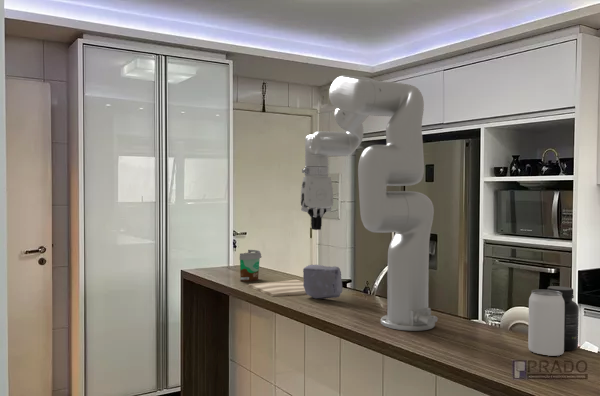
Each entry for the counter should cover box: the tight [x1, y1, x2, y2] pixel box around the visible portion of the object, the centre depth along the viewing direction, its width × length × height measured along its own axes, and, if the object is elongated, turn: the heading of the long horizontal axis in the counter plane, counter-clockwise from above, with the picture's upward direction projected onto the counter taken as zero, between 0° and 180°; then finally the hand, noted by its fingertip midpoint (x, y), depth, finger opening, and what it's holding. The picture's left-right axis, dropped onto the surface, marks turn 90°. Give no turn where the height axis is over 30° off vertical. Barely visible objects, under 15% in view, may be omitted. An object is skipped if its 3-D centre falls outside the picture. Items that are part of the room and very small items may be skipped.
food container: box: [239, 249, 262, 282], centre depth 187 cm, size 12×6×10 cm, turn 171°
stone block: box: [302, 264, 343, 300], centre depth 154 cm, size 12×5×10 cm, turn 54°
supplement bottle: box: [547, 285, 580, 351], centre depth 110 cm, size 7×7×12 cm
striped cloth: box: [248, 279, 307, 298], centre depth 169 cm, size 18×18×1 cm
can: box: [527, 289, 565, 357], centre depth 106 cm, size 6×6×12 cm
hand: (316, 229), depth 172 cm, fingers closed
